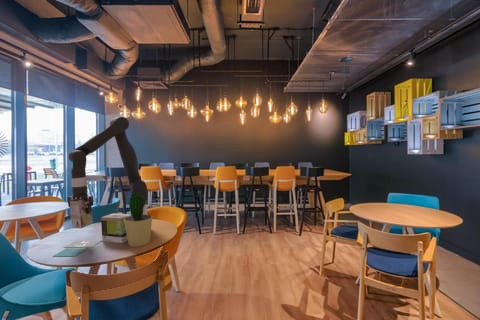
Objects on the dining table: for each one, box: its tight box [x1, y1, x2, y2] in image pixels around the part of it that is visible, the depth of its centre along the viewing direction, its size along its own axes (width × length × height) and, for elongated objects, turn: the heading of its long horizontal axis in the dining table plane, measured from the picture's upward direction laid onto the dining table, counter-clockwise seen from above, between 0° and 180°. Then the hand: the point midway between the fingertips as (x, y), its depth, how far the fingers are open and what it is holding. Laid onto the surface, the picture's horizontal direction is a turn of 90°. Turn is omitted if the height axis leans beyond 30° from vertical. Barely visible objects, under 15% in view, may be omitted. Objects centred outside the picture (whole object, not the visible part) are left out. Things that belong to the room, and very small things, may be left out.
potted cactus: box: [124, 191, 153, 248], centre depth 152 cm, size 15×15×30 cm
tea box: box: [100, 212, 132, 244], centre depth 159 cm, size 15×10×15 cm, turn 71°
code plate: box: [63, 240, 102, 249], centre depth 153 cm, size 16×10×1 cm, turn 87°
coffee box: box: [69, 198, 94, 229], centre depth 152 cm, size 9×6×16 cm
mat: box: [52, 247, 89, 258], centre depth 141 cm, size 12×10×1 cm
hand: (81, 213), depth 152 cm, fingers closed on coffee box, 7 cm apart
